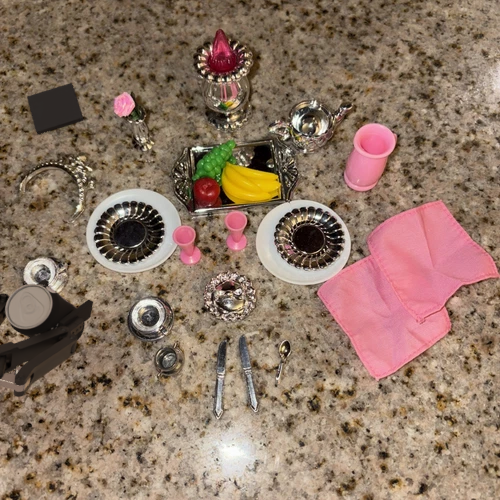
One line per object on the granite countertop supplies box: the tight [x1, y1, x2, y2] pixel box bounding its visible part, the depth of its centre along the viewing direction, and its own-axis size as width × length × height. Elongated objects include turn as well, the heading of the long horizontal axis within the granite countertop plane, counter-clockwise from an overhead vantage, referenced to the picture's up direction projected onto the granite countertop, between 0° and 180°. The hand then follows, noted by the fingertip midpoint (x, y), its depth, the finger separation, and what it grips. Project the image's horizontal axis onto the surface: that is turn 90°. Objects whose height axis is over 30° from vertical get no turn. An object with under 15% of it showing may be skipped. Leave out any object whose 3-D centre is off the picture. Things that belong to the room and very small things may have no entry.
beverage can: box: [5, 283, 86, 342], centre depth 66 cm, size 7×7×12 cm
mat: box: [26, 82, 84, 135], centre depth 106 cm, size 10×10×1 cm
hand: (67, 298), depth 69 cm, fingers closed on beverage can, 6 cm apart
